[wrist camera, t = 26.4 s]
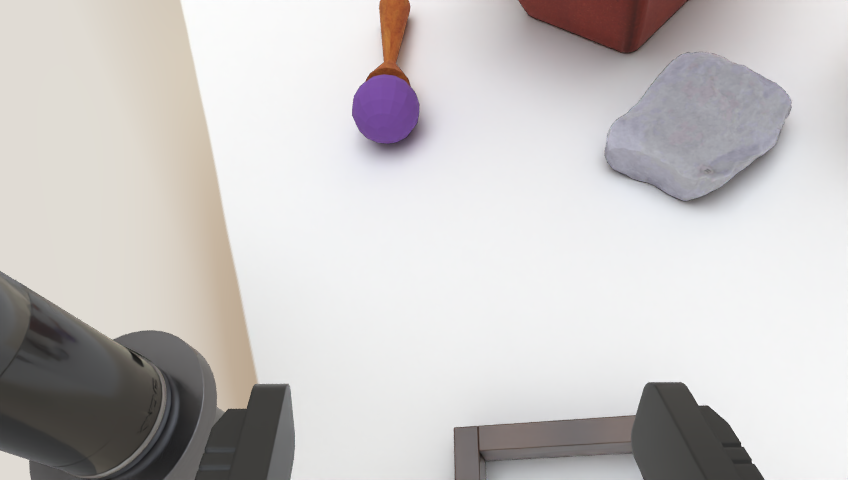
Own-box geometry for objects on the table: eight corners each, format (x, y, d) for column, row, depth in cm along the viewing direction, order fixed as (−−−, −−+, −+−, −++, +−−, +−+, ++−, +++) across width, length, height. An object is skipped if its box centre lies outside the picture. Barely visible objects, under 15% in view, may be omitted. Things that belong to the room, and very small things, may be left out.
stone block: (788, 130, 47) (676, 70, 51) (816, 92, 43) (692, 29, 47) (703, 235, 45) (591, 164, 48) (724, 206, 40) (600, 130, 44)
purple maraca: (420, -22, 61) (416, 103, 49) (424, 30, 66) (420, 156, 54) (363, -19, 62) (344, 105, 49) (370, 32, 66) (354, 158, 54)
